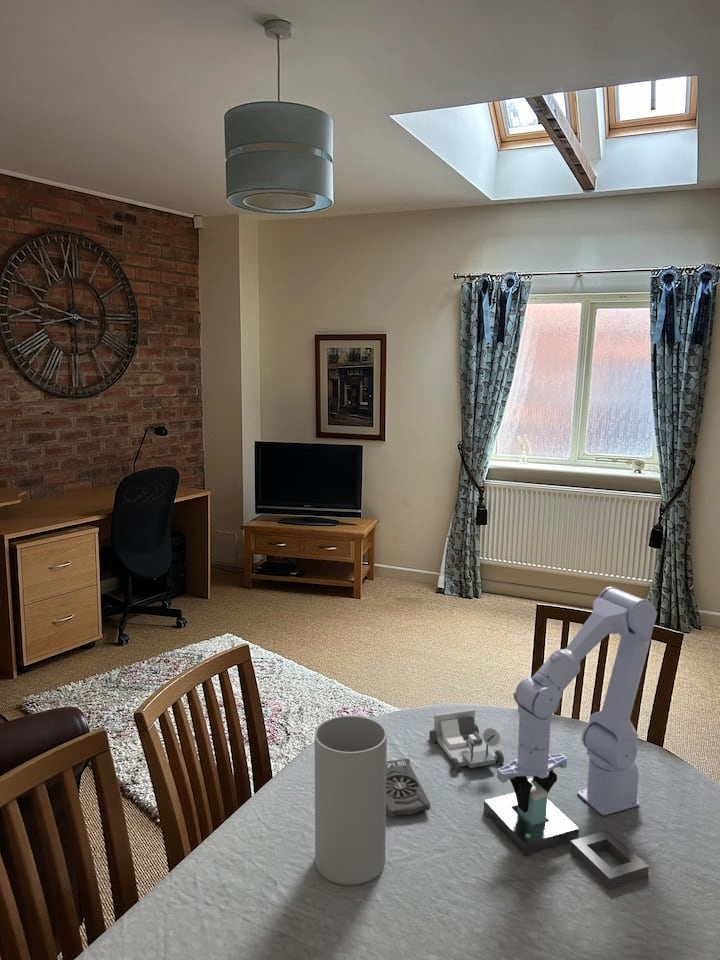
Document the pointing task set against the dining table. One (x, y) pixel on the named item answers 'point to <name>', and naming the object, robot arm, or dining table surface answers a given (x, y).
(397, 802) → the graphics card
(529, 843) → the port panel
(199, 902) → the dining table surface
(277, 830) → the dining table surface
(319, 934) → the dining table surface
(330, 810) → the cylinder vase
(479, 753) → the toy car
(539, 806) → the plug
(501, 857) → the dining table surface
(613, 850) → the holster
